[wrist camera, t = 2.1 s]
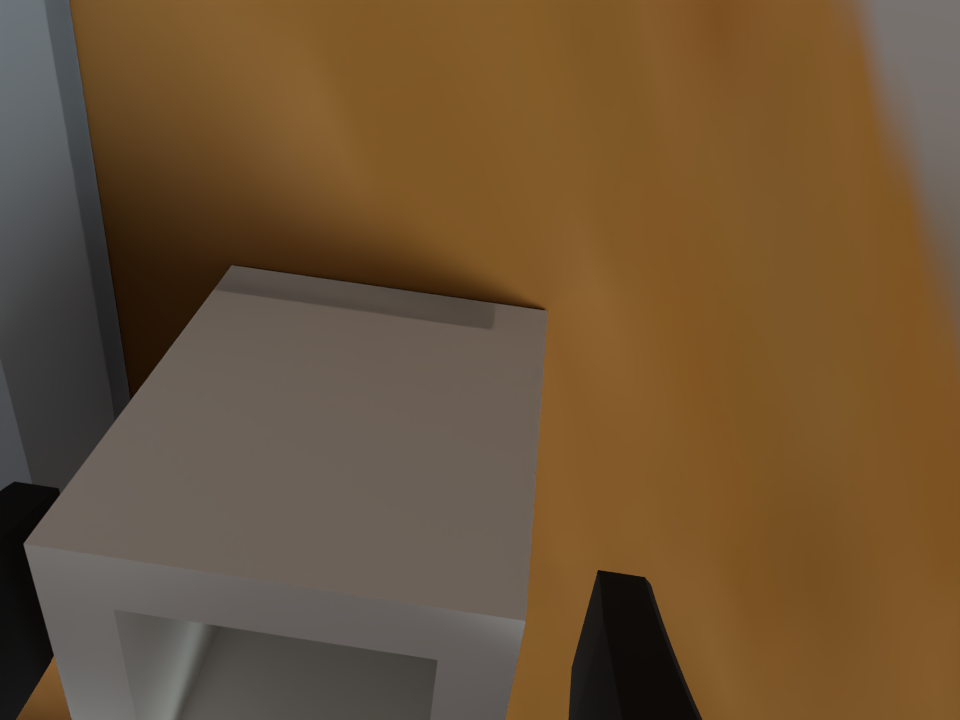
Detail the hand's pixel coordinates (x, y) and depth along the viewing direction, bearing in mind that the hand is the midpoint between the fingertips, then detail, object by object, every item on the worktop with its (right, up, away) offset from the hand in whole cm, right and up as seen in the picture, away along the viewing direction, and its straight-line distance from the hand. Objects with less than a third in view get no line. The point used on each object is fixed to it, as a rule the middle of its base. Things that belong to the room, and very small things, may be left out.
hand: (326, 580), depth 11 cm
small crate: (0, +2, +3) cm, 4 cm away
